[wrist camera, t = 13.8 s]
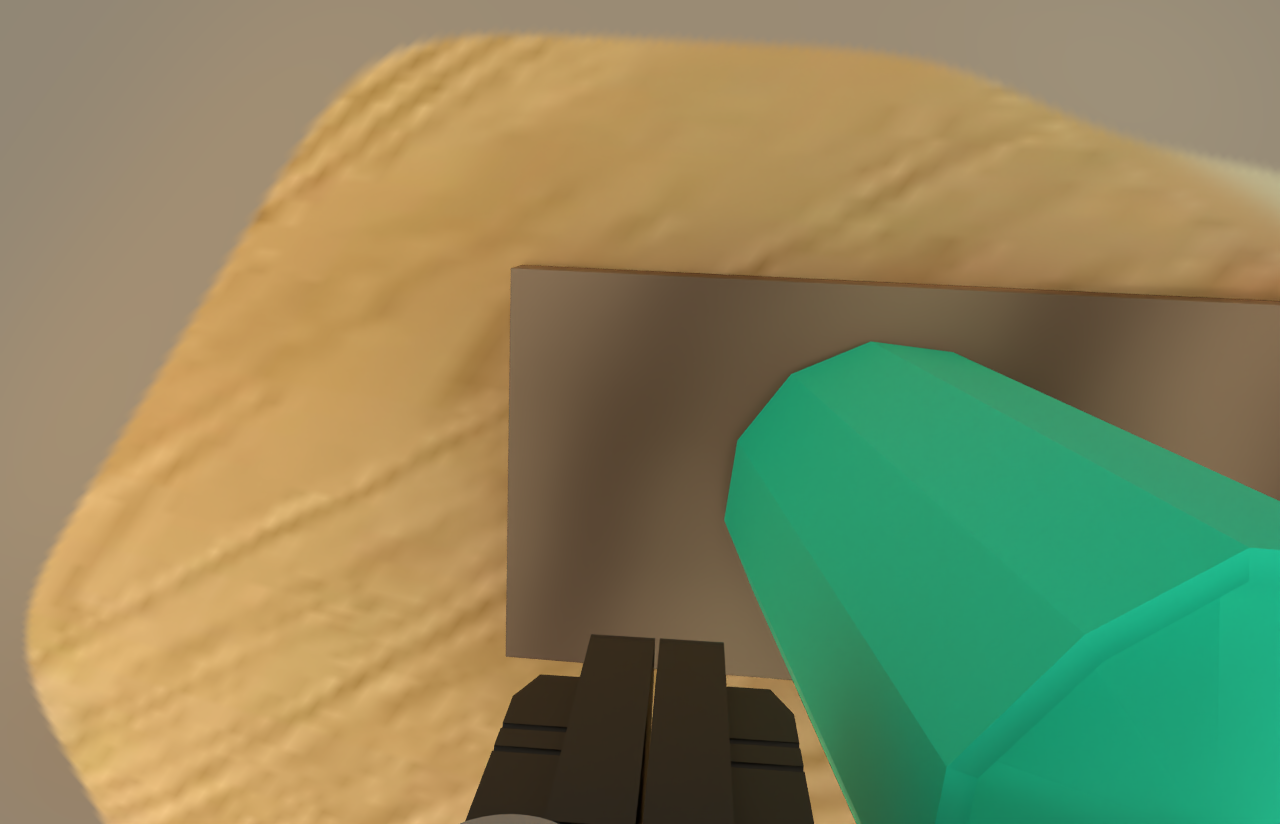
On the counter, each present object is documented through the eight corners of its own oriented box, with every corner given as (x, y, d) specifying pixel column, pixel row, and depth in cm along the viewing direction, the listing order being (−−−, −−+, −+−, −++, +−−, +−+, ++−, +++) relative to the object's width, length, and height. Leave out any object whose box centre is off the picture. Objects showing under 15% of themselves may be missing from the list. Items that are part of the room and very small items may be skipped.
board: (1597, 316, 18) (1645, 322, 17) (1500, 715, 20) (1540, 741, 19) (522, 264, 20) (511, 267, 19) (516, 636, 22) (506, 656, 21)
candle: (659, 472, 18) (815, 984, 7) (927, 273, 18) (1597, 453, 6) (840, 702, 20) (1233, 1458, 8) (1094, 522, 19) (1905, 1054, 8)
